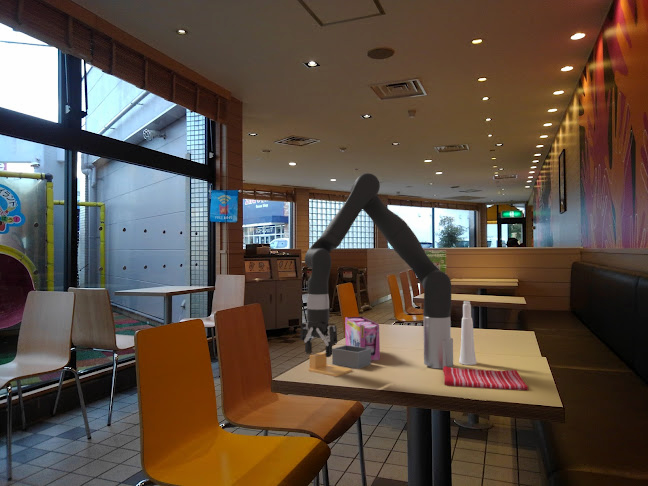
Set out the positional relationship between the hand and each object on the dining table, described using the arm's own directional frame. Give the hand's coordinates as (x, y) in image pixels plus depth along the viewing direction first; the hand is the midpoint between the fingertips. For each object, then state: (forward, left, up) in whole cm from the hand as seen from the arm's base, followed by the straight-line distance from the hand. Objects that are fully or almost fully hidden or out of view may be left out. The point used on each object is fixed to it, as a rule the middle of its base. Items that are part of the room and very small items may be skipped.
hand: (318, 355), depth 156 cm
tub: (-5, -12, -5) cm, 14 cm away
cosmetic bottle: (-36, -40, -5) cm, 54 cm away
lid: (-5, 0, -5) cm, 7 cm away
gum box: (+1, -28, -6) cm, 29 cm away
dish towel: (-48, -21, -6) cm, 53 cm away
